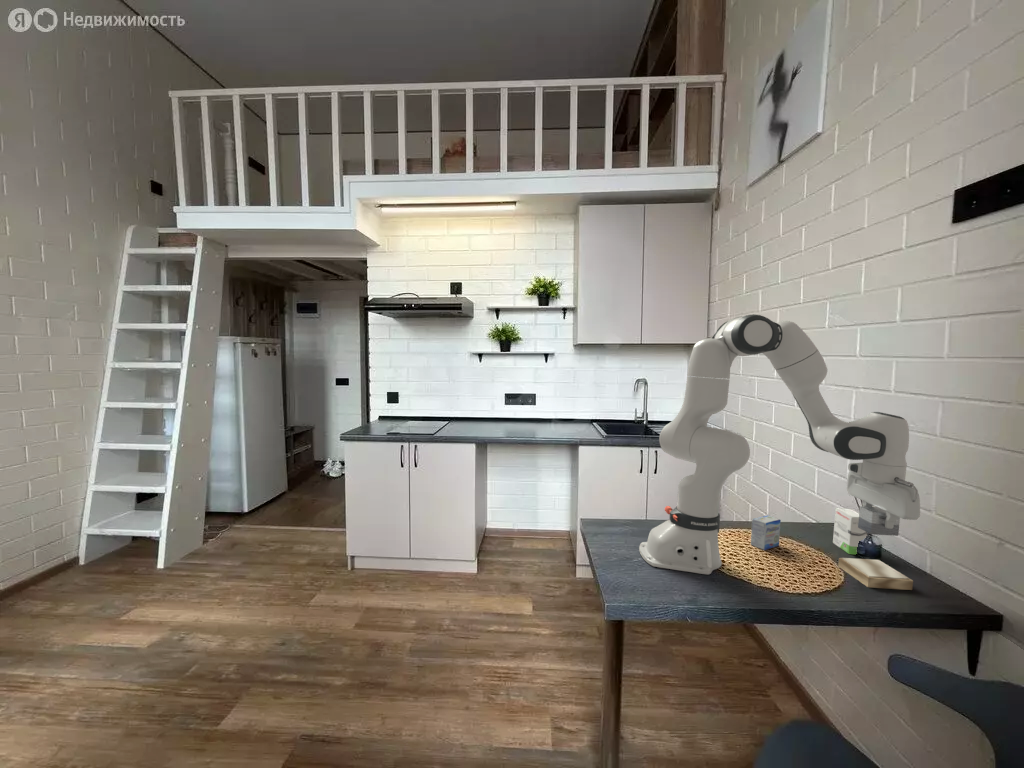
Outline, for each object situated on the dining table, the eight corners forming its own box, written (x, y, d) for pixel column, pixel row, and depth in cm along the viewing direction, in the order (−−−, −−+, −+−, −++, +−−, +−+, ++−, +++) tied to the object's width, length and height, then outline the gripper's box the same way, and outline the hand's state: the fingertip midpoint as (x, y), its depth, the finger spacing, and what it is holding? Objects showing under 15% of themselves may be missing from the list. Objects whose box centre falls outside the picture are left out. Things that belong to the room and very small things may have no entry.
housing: (898, 535, 112) (900, 513, 112) (870, 534, 113) (872, 512, 112) (884, 528, 117) (886, 507, 116) (857, 527, 117) (859, 506, 117)
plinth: (867, 587, 110) (868, 576, 110) (838, 566, 121) (838, 556, 121) (912, 590, 110) (913, 579, 109) (878, 568, 121) (879, 559, 120)
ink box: (866, 556, 128) (869, 518, 128) (848, 554, 129) (851, 516, 128) (848, 543, 137) (851, 508, 136) (831, 542, 138) (834, 507, 137)
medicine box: (763, 550, 130) (766, 523, 129) (750, 544, 134) (751, 518, 133) (779, 546, 134) (781, 519, 133) (765, 540, 137) (767, 514, 137)
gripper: (931, 485, 103) (925, 540, 104) (866, 463, 123) (862, 509, 124) (904, 484, 103) (898, 539, 104) (844, 462, 124) (840, 508, 125)
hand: (878, 522), depth 115 cm, fingers closed on housing, 4 cm apart
